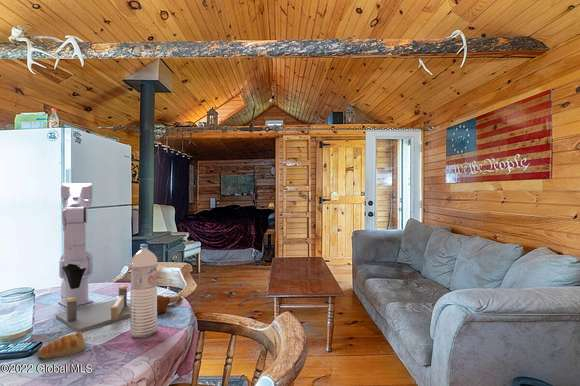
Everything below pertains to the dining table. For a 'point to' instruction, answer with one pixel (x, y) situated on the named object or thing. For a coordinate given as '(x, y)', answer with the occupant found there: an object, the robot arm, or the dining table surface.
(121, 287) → the gate frame
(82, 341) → the pastry
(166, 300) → the smoking pipe
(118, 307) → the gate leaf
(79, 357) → the dining table surface
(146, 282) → the water bottle
